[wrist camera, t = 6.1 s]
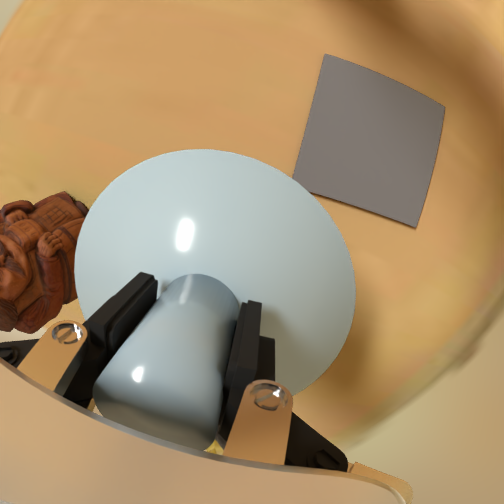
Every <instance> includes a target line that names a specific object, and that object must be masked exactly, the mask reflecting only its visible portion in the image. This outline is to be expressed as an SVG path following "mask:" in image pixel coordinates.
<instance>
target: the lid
mask: <svg viewBox="0 0 504 504" xmlns="http://www.w3.org/2000/svg"><path fill="white" fill-rule="evenodd" d="M139 272H144V273H148V274H151V275H154V277H155V279H156V280H158V290H157V300H156V301H155V303H154V304H153V305H152V307H151V308H150V309H149V310H148V312H147V313H146V314H145V316H144V317H143V318H142V319H141V321H140V322H139V323H138V325H137V326H136V327H135V329H134V330H133V331H132V333H131V334H130V335H129V336H128V338H127V339H126V340H125V342H124V343H123V344H122V346H121V347H120V348H119V350H118V351H117V353H116V354H115V355H114V357H113V358H112V359H111V361H110V362H109V363H108V365H107V366H106V368H105V369H104V370H103V372H102V373H101V374H100V376H99V377H98V379H97V380H96V382H95V383H94V386H93V398H94V401H95V404H96V406H97V408H98V409H99V411H100V413H101V414H102V415H103V417H104V418H107V419H109V420H111V421H114V422H116V423H119V424H121V425H123V426H126V427H129V428H131V429H134V430H136V431H139V432H142V433H145V434H148V435H150V436H153V437H156V438H159V439H162V440H166V441H169V442H172V443H175V444H179V445H182V446H186V447H190V448H193V449H197V450H201V451H204V450H205V449H207V448H209V447H210V446H211V445H212V443H213V442H214V440H215V436H216V431H217V427H218V422H219V417H220V412H221V407H222V402H223V385H224V381H225V376H226V371H227V367H228V362H229V358H230V353H231V348H232V344H233V339H234V334H235V330H236V325H237V321H238V317H239V312H240V308H241V304H242V302H245V303H247V302H248V300H252V301H256V302H261V303H262V310H261V324H260V336H265V337H269V338H274V339H275V382H277V383H280V384H281V385H283V386H284V387H286V388H287V389H288V390H289V391H290V393H291V395H292V396H294V395H295V394H297V393H299V392H301V391H302V390H304V389H305V388H307V387H308V386H309V385H310V384H312V383H313V382H314V381H316V380H317V379H318V378H319V377H320V376H321V375H322V374H323V373H324V372H325V371H326V370H327V369H328V368H329V366H330V365H331V364H332V362H333V361H334V360H335V358H336V357H337V356H338V354H339V352H340V350H341V349H342V347H343V345H344V343H345V341H346V338H347V336H348V333H349V331H350V328H351V325H352V320H353V316H354V311H355V299H356V286H355V276H354V270H353V266H352V262H351V258H350V254H349V251H348V249H347V246H346V244H345V242H344V239H343V237H342V235H341V233H340V231H339V229H338V228H337V226H336V225H335V223H334V221H333V220H332V218H331V217H330V215H329V214H328V212H327V211H326V210H325V209H324V208H323V207H322V205H321V204H320V203H319V202H318V201H317V200H316V198H315V197H314V196H313V195H311V194H310V193H309V192H308V191H307V190H306V189H305V188H303V187H302V186H301V185H300V184H299V183H298V182H296V181H295V180H293V179H292V178H290V177H289V176H287V175H286V174H284V173H283V172H281V171H279V170H278V169H276V168H274V167H272V166H270V165H268V164H265V163H263V162H261V161H259V160H256V159H254V158H250V157H247V156H243V155H240V154H236V153H233V152H227V151H219V150H211V149H194V150H182V151H176V152H170V153H165V154H162V155H159V156H156V157H153V158H150V159H148V160H145V161H143V162H141V163H139V164H137V165H135V166H134V167H132V168H130V169H128V170H127V171H125V172H124V173H123V174H121V175H120V176H119V177H117V178H116V179H115V180H114V181H112V182H111V183H110V184H109V186H108V187H107V188H106V189H105V190H104V191H103V192H102V193H101V194H100V195H99V197H98V198H97V200H96V201H95V202H94V204H93V205H92V207H91V208H90V210H89V212H88V214H87V216H86V218H85V220H84V222H83V225H82V228H81V231H80V234H79V237H78V241H77V246H76V252H75V267H74V273H75V284H76V291H77V295H78V300H79V304H80V307H81V310H82V313H83V315H84V318H85V320H87V319H88V318H89V317H90V316H91V315H93V314H94V313H95V312H96V311H97V310H98V309H99V308H100V307H101V306H102V305H103V304H104V303H105V302H106V301H107V300H108V299H110V298H111V297H112V296H114V295H115V294H116V293H118V292H119V291H120V290H121V289H122V288H123V287H124V286H125V285H126V284H127V283H128V282H130V281H131V280H132V279H133V278H134V277H135V276H136V275H137V274H138V273H139Z"/></svg>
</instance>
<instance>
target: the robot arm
mask: <svg viewBox="0 0 504 504" xmlns="http://www.w3.org/2000/svg"><path fill="white" fill-rule="evenodd" d="M157 290H158V280H156V279H155V277H154V275H151V274H148V273H144V272H139V273H138V274H137V275H136V276H135V277H134V278H133V279H132V280H131V281H130V282H128V283H127V284H126V285H125V286H124V287H123V288H122V289H121V290H120V291H119V292H118V293H116V294H115V295H114V296H112V297H111V298H110V299H108V300H107V301H106V302H105V303H104V304H103V305H102V306H101V307H100V308H99V309H98V310H97V311H96V312H95V313H94V314H93V315H91V316H90V317H89V318H88V319H87V320H86V321H85V322H84V323H83V324H80V323H78V322H75V321H70V320H64V321H59V322H57V323H55V324H53V325H52V326H51V327H50V328H49V329H48V330H47V331H46V332H45V334H44V335H43V336H42V337H41V338H40V339H32V340H23V341H12V342H2V343H0V504H411V503H412V499H413V491H412V488H411V486H410V485H409V484H408V483H407V482H406V481H404V480H402V479H399V478H396V477H393V476H391V475H388V474H385V473H382V472H380V471H377V470H375V469H372V468H370V467H367V466H365V465H362V464H360V463H358V462H355V463H354V464H351V463H349V462H348V460H347V458H346V456H345V454H344V453H343V452H342V451H341V450H340V449H338V448H337V447H336V446H334V445H333V444H332V443H331V442H329V441H328V440H327V439H325V438H324V437H323V436H321V435H320V434H319V433H318V432H316V431H315V430H314V429H313V428H311V427H310V426H309V425H308V424H306V423H305V422H304V421H303V420H302V419H300V418H299V417H298V416H297V415H296V414H294V413H293V412H292V407H293V397H292V395H291V393H290V391H289V390H288V389H287V388H286V387H284V386H283V385H281V384H280V383H277V382H275V339H274V338H269V337H265V336H260V324H261V310H262V303H261V302H256V301H252V300H248V302H247V303H245V302H242V304H241V308H240V312H239V317H238V321H237V325H236V330H235V334H234V339H233V344H232V348H231V353H230V358H229V362H228V367H227V371H226V376H225V381H224V385H223V402H222V407H221V412H220V417H219V422H218V425H219V430H218V434H220V435H221V437H222V438H223V439H224V440H225V441H226V442H227V443H226V446H225V449H224V452H223V454H222V455H219V454H214V453H210V452H206V451H201V450H197V449H193V448H190V447H186V446H182V445H179V444H175V443H172V442H169V441H166V440H162V439H159V438H156V437H153V436H150V435H148V434H145V433H142V432H139V431H136V430H134V429H131V428H129V427H126V426H123V425H121V424H119V423H116V422H114V421H111V420H109V419H107V418H104V417H102V416H100V415H98V414H96V413H93V409H94V407H95V405H96V404H95V401H94V398H93V386H94V383H95V382H96V380H97V379H98V377H99V376H100V374H101V373H102V372H103V370H104V369H105V368H106V366H107V365H108V363H109V362H110V361H111V359H112V358H113V357H114V355H115V354H116V353H117V351H118V350H119V348H120V347H121V346H122V344H123V343H124V342H125V340H126V339H127V338H128V336H129V335H130V334H131V333H132V331H133V330H134V329H135V327H136V326H137V325H138V323H139V322H140V321H141V319H142V318H143V317H144V316H145V314H146V313H147V312H148V310H149V309H150V308H151V307H152V305H153V304H154V303H155V301H156V300H157Z"/></svg>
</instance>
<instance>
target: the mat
mask: <svg viewBox="0 0 504 504" xmlns="http://www.w3.org/2000/svg"><path fill="white" fill-rule="evenodd" d="M444 112H445V107H444V106H443V105H441V104H439V103H437V102H436V101H434V100H432V99H430V98H429V97H427V96H425V95H423V94H421V93H419V92H418V91H416V90H414V89H412V88H410V87H408V86H406V85H404V84H402V83H399V82H397V81H395V80H393V79H391V78H389V77H386V76H384V75H382V74H380V73H377V72H375V71H372V70H370V69H368V68H365V67H362V66H360V65H357V64H355V63H352V62H349V61H346V60H343V59H341V58H338V57H335V56H332V55H328V54H325V55H324V59H323V63H322V67H321V71H320V75H319V79H318V83H317V87H316V91H315V94H314V98H313V102H312V106H311V110H310V114H309V118H308V122H307V125H306V129H305V133H304V137H303V140H302V144H301V148H300V152H299V155H298V159H297V163H296V166H295V170H294V174H293V177H292V179H293V180H295V181H296V182H298V183H299V184H300V185H301V186H302V187H303V188H305V189H306V190H307V191H309V192H312V193H316V194H319V195H322V196H326V197H329V198H332V199H335V200H339V201H342V202H345V203H348V204H351V205H354V206H357V207H360V208H363V209H366V210H369V211H372V212H375V213H377V214H380V215H383V216H386V217H389V218H392V219H394V220H397V221H400V222H402V223H405V224H408V225H410V226H413V227H416V226H417V223H418V220H419V217H420V214H421V211H422V208H423V204H424V201H425V197H426V194H427V190H428V187H429V183H430V179H431V176H432V172H433V168H434V163H435V159H436V155H437V150H438V145H439V141H440V135H441V130H442V124H443V119H444Z"/></svg>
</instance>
